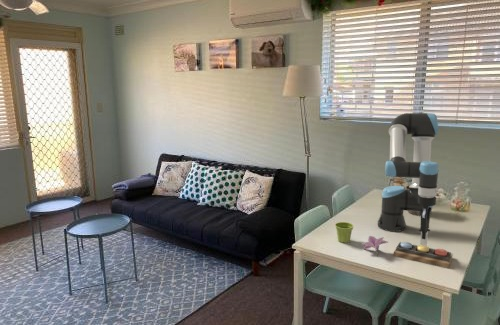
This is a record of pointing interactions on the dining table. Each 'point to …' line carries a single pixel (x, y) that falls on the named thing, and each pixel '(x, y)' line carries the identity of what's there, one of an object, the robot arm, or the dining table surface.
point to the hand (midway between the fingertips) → (423, 244)
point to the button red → (441, 252)
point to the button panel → (423, 256)
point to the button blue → (406, 245)
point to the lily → (374, 242)
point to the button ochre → (423, 249)
